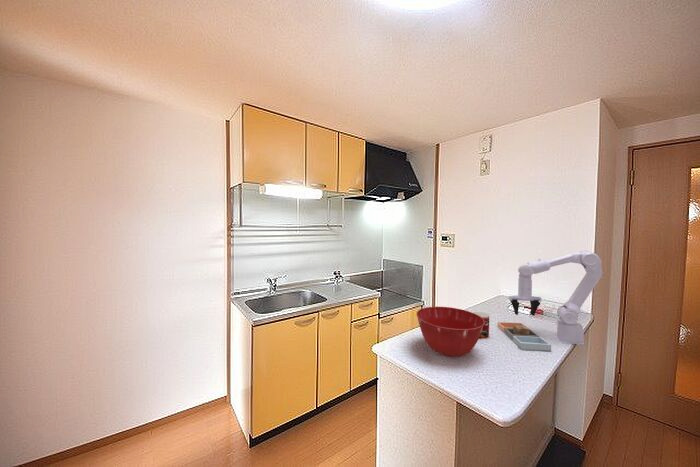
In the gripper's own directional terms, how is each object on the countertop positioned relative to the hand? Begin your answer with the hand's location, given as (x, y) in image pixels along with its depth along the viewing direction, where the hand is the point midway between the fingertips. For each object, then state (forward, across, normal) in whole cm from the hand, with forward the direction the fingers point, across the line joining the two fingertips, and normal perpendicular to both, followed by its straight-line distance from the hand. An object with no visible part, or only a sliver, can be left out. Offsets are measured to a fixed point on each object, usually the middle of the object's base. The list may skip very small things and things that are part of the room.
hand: (524, 314), depth 136 cm
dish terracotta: (+10, +4, -3) cm, 11 cm away
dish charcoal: (+10, +4, +6) cm, 12 cm away
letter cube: (+9, +4, +6) cm, 12 cm away
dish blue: (+10, +4, +15) cm, 18 cm away
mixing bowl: (+10, +42, +24) cm, 49 cm away
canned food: (+10, +23, +6) cm, 26 cm away
